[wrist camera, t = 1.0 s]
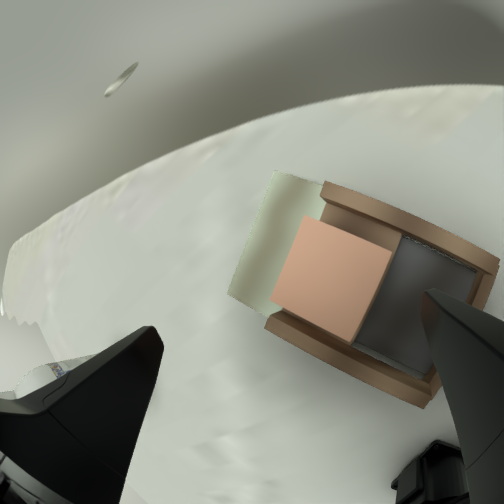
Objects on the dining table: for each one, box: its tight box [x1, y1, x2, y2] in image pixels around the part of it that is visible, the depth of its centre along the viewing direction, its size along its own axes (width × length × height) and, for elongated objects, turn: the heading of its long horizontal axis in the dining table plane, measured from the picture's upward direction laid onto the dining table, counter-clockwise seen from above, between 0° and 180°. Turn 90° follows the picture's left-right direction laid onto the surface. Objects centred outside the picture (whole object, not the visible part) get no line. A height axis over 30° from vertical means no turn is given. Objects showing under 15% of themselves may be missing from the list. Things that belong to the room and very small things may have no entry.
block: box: [269, 215, 392, 342], centre depth 15 cm, size 5×5×4 cm
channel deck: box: [227, 170, 500, 409], centre depth 16 cm, size 18×10×4 cm, turn 66°
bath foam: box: [0, 353, 99, 400], centre depth 21 cm, size 7×7×20 cm
